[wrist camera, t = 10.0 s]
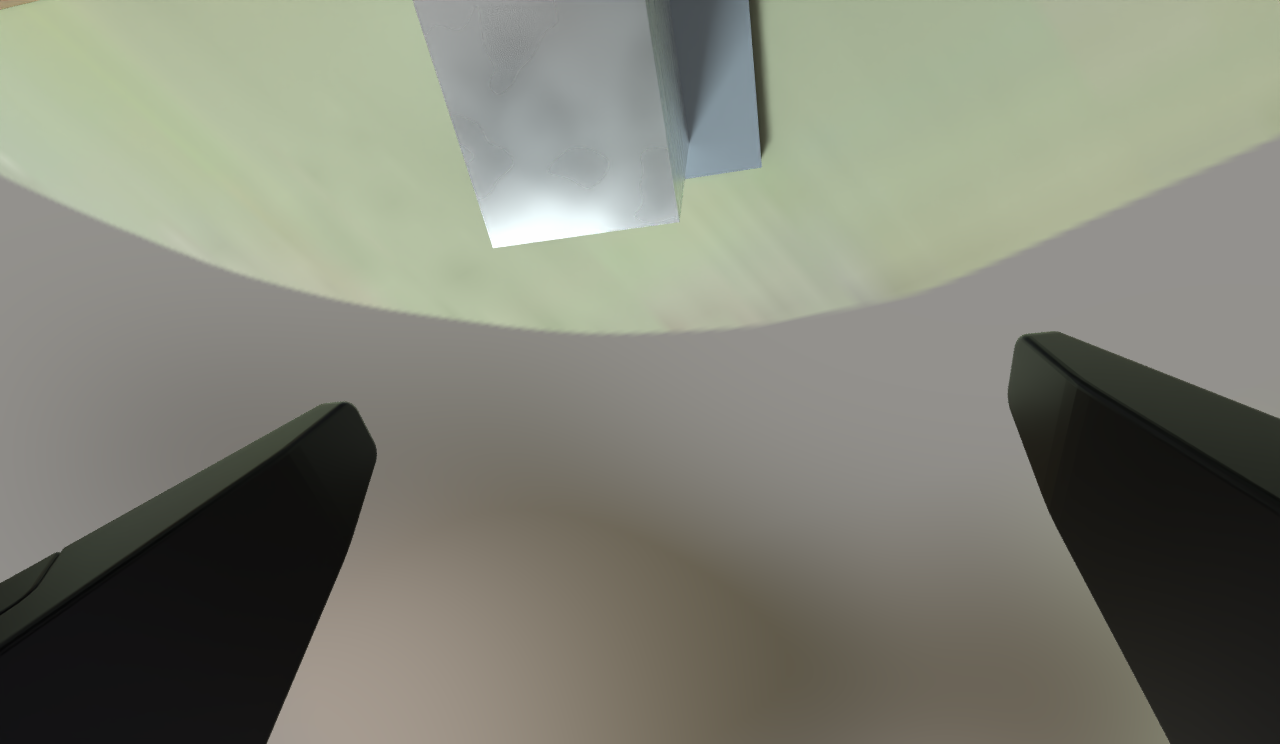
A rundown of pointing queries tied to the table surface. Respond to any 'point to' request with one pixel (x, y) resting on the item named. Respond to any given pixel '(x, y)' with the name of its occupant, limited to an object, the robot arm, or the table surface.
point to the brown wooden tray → (13, 3)
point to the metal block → (563, 112)
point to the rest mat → (717, 85)
